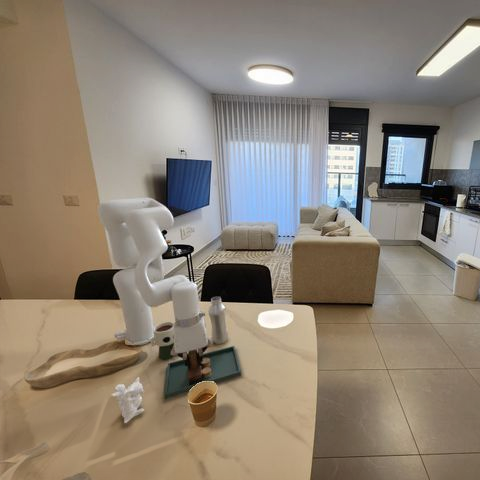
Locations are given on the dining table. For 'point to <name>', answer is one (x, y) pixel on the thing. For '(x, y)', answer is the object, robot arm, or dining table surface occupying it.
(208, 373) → the crumb
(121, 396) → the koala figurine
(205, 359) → the crumb
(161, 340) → the character mug
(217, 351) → the tray
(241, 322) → the dining table surface
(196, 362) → the brush
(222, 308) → the plastic bottle
